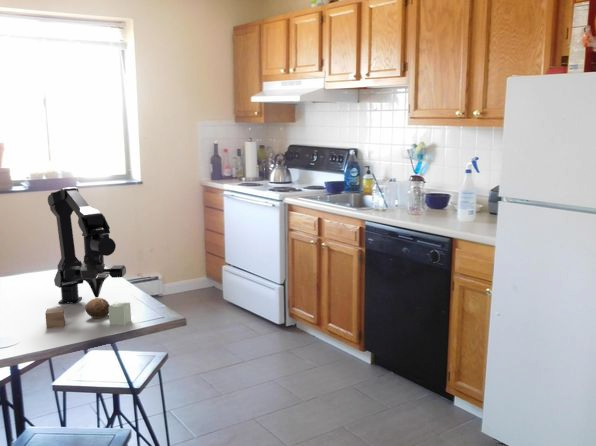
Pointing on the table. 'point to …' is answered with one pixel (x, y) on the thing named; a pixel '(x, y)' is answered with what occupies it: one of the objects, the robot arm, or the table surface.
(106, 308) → the coconut
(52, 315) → the walnut block
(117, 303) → the sage block
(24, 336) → the table surface
